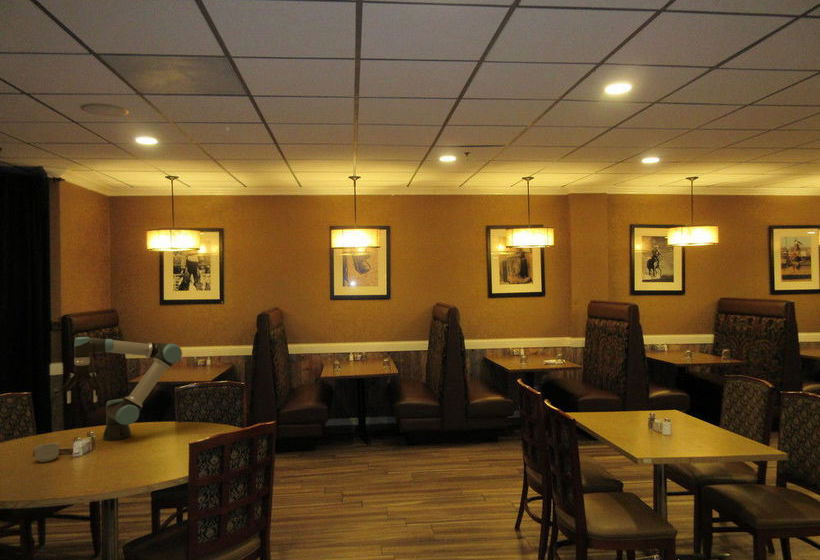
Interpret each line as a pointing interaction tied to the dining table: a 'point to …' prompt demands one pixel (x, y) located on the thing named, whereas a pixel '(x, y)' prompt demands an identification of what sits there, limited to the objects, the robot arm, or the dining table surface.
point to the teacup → (46, 452)
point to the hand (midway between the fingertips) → (82, 402)
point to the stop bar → (62, 451)
